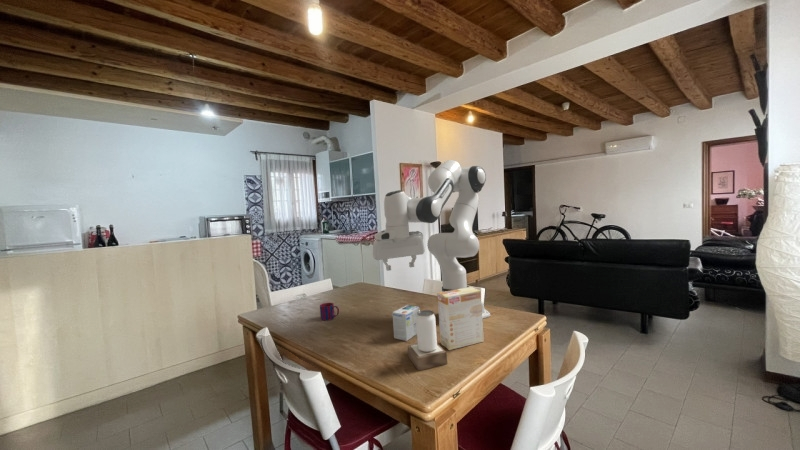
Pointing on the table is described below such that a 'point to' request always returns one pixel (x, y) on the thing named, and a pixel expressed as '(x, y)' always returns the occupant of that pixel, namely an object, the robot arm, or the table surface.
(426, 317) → the can
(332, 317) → the mug
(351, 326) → the table surface
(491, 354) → the table surface
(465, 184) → the robot arm
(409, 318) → the light bulb box
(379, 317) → the table surface
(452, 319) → the coffeecake box
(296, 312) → the table surface
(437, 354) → the base block
